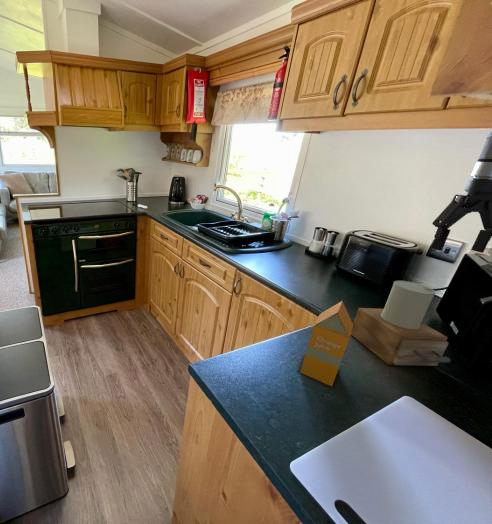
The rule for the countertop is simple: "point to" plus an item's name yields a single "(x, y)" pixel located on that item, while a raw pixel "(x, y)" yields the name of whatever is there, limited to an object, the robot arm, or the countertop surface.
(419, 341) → the drawer
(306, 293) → the countertop surface
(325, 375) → the orange juice
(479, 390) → the countertop surface
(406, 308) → the can
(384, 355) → the cabinet
